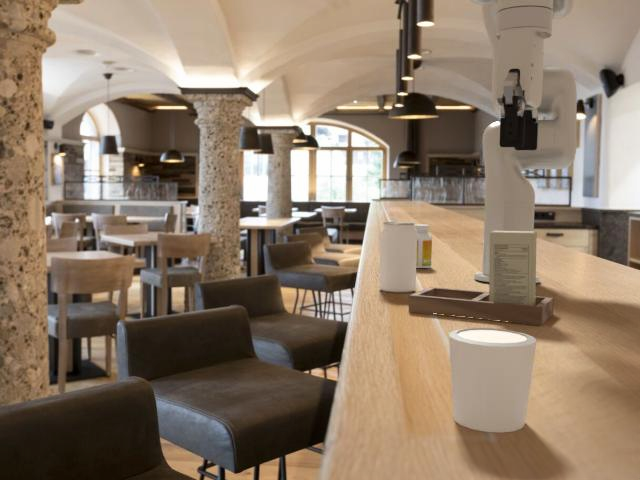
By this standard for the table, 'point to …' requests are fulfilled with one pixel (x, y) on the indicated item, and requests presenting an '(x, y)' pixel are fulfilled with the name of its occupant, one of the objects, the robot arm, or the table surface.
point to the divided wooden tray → (478, 306)
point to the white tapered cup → (491, 378)
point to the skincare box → (513, 267)
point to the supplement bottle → (423, 246)
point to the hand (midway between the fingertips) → (518, 148)
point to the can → (398, 257)
